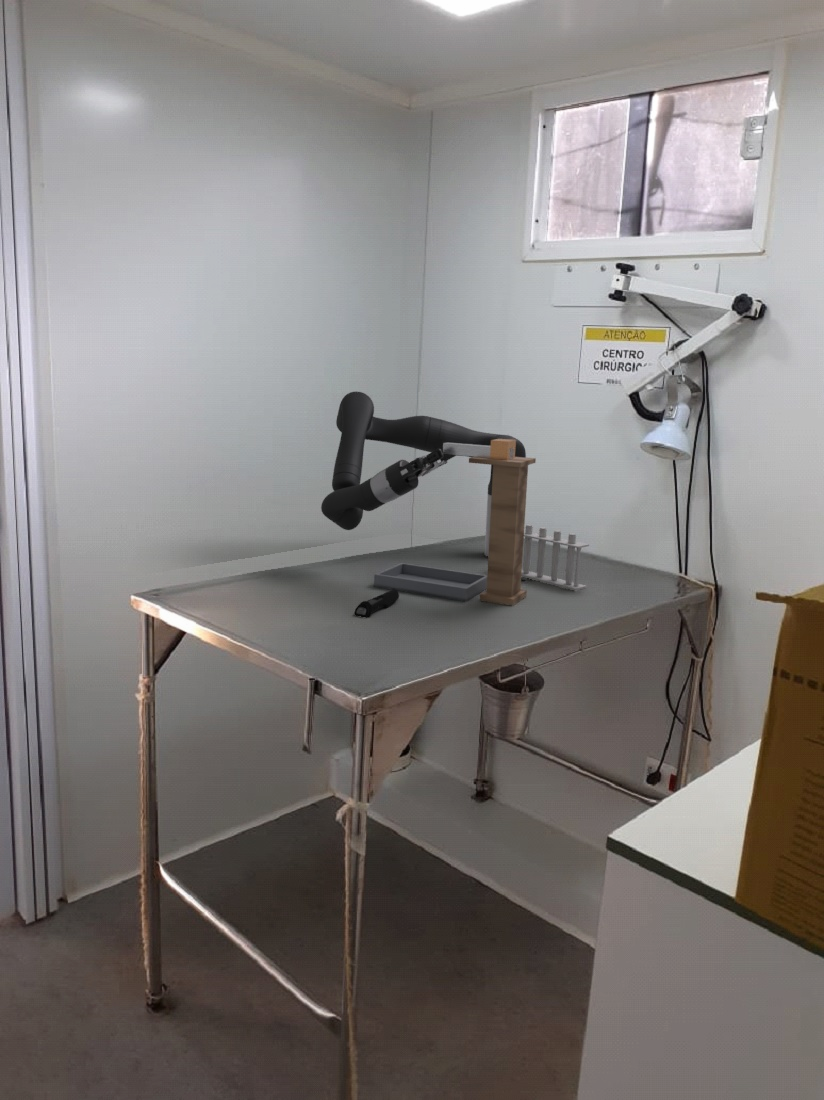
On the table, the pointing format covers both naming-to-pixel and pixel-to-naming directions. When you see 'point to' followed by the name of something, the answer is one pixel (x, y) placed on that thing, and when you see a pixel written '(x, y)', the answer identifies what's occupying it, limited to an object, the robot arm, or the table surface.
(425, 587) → the parts tray
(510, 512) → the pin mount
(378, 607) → the electric trimmer
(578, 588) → the test tube rack
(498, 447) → the lock pin
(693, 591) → the table surface
